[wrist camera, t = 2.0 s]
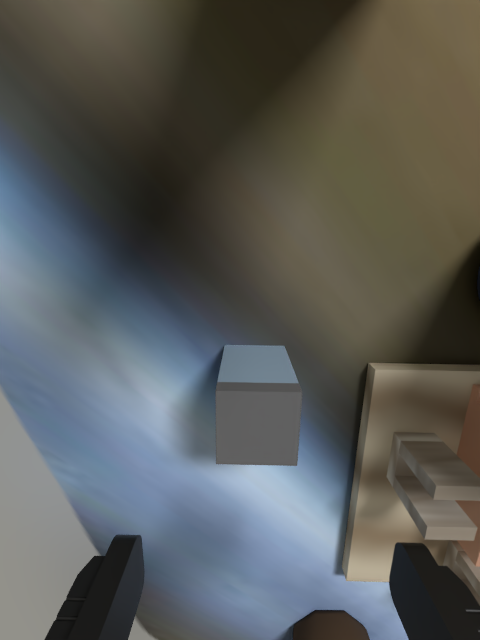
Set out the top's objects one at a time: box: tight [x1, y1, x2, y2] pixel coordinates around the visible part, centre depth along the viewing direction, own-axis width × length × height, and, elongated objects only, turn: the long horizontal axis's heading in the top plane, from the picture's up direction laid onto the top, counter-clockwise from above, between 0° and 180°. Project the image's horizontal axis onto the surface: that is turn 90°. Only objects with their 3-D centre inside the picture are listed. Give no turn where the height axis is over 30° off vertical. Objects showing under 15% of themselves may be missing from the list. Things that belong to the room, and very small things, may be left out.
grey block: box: [216, 345, 302, 466], centre depth 19 cm, size 4×4×7 cm
